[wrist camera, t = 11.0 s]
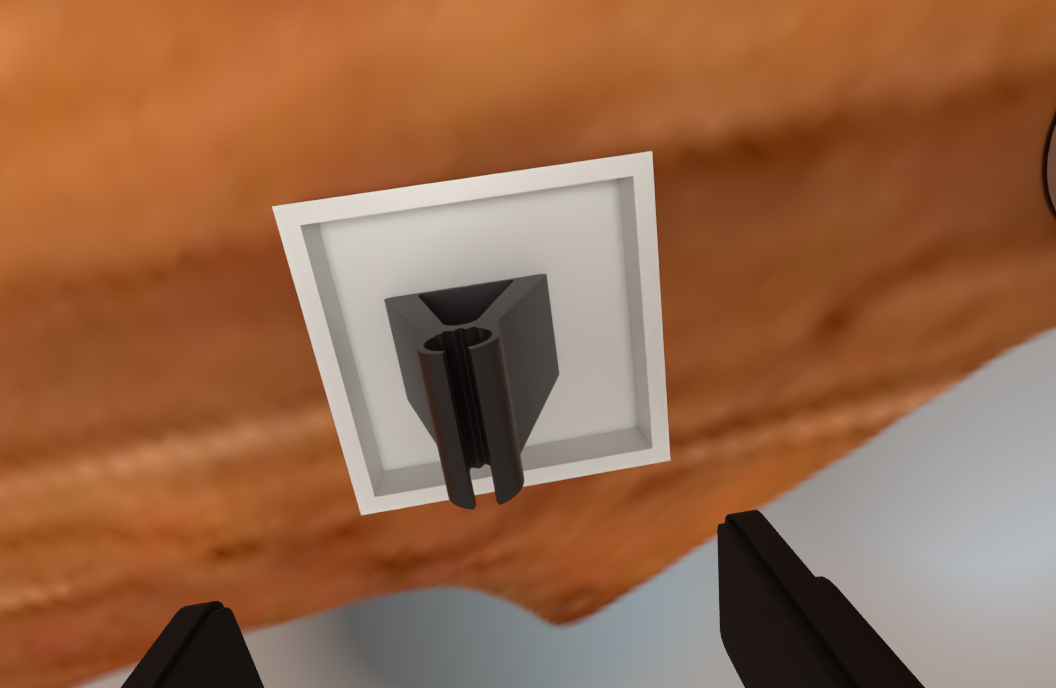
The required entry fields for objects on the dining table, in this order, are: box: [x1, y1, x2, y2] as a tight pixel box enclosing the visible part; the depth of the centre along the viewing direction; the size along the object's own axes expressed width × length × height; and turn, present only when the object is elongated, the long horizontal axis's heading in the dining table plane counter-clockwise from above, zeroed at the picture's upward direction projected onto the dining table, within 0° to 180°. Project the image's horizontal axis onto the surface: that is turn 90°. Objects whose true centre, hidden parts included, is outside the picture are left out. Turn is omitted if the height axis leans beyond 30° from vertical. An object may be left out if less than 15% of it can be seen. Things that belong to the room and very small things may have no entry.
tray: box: [272, 151, 670, 515], centre depth 27 cm, size 18×17×4 cm
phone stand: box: [384, 274, 559, 509], centre depth 22 cm, size 9×6×12 cm, turn 98°
